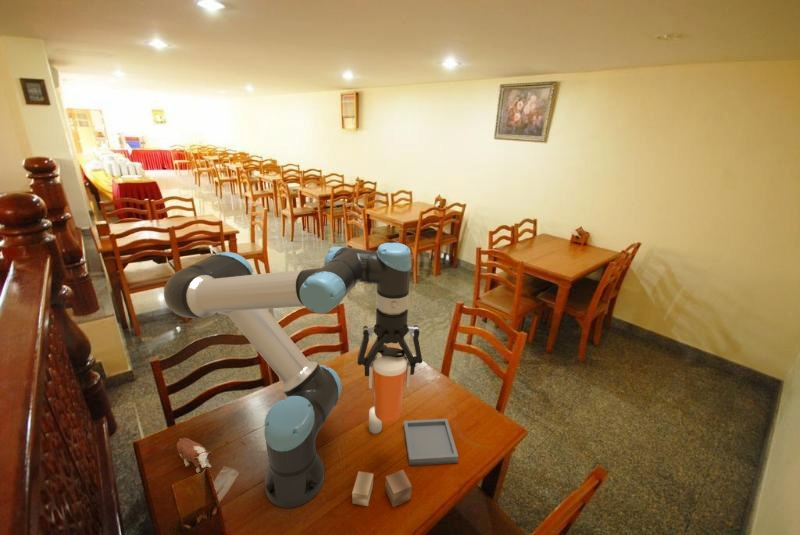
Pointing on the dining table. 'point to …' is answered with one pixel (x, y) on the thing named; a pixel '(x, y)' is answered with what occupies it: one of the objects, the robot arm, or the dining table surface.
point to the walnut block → (398, 488)
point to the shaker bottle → (389, 382)
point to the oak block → (362, 488)
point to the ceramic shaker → (374, 422)
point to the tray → (429, 442)
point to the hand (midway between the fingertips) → (388, 384)
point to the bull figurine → (193, 453)
